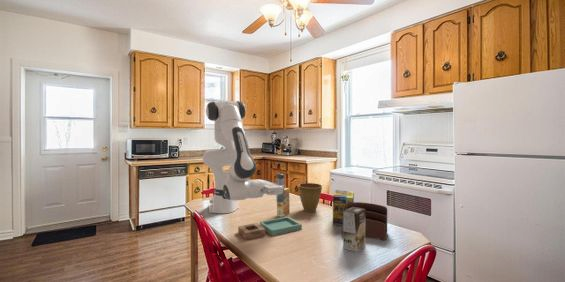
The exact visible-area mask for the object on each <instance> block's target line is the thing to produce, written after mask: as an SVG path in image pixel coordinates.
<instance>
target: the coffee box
mask: <svg viewBox="0 0 565 282" xmlns="http://www.w3.org/2000/svg"><path fill="white" fill-rule="evenodd" d="M365 219H366V209H363V208H358V207H351V208H349V209H346V210H344V217H343V233H342V234H343V235H342V241H343V242H342V243H343V244H342V248H343V249H347V250H349V251H353V252H359V251H360V250H361V249H362V248H363V247H364V246H365V245H366V237H365Z"/></svg>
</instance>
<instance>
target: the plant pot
mask: <svg viewBox="0 0 565 282" xmlns="http://www.w3.org/2000/svg"><path fill="white" fill-rule="evenodd" d="M322 190H323V185H322V184H319V183H313V182H304V183H303V182H302V183H299V184H298V192H299V193H298V194H299V199H300V203H301V205H302V209H303V211H305V212H309V213H313V212H316V211H317V208H318V205H319V202H320V199H321V195H322Z"/></svg>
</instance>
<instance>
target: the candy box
mask: <svg viewBox="0 0 565 282" xmlns="http://www.w3.org/2000/svg"><path fill="white" fill-rule="evenodd" d="M290 206H291V205H290V188H288V187H285V189H284V202H277V201H276V217H279V218H283V217H286V216H287V215H289V214H290V213H291V211H290Z"/></svg>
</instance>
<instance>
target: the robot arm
mask: <svg viewBox="0 0 565 282" xmlns="http://www.w3.org/2000/svg"><path fill="white" fill-rule="evenodd" d="M246 113H247V110H246V105H245V103H244V102H242V101H240V100H239V101H238V100H237V101H235V100H233V101H232V100H223V101H211V102H208V103H207V105H206V107H205V114H206V117H207V119H208V120H210V121H212V122H214V123H213V125H214V130H213V131H214V141H215V142H216V143H217V144H218V145H221V146H223V147H224V148H212V149H208V150H205V151H204V152H203V155H202V162H203V164H204V166H206V167H208V169H210V171H211V172H212V173H213V177H214V192H213V194H214V195H213V196H212V197H211V199H209V204H208V212H209V213H210V214H211V213H213V214H214V213H215V214H229V213H234V212H236V210H238V209H239V208H240V207H239V206H238V205H237V204H238V203H237V201H244V200H246V199H257V198H263V196H264V195H265V194H266V195H268V196H276V195H279V194H282V193H283V189H285V188H286V185H285V184H284V185H280V186H279V185H277V184H276V182H271V181H268V180H266V179H260V178H259V179H253V178H252V179H250V177H252V176H254V175H255V173H256V172H257V163H256V161H255V160H254V158H253V156H252V153H251V151H250V147H249V144H248V139H247V136H246V133H245V130H244V127H243V122H242V121H243V119H244V118H245V117H246ZM223 167H229V168H228V170H225V169H224V168H223Z"/></svg>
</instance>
